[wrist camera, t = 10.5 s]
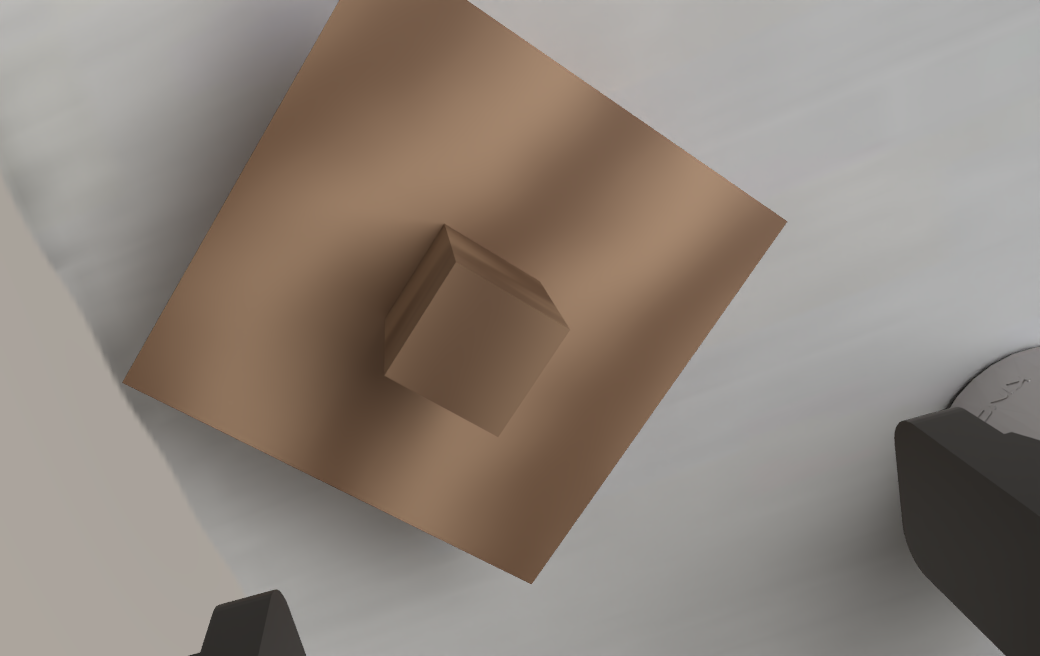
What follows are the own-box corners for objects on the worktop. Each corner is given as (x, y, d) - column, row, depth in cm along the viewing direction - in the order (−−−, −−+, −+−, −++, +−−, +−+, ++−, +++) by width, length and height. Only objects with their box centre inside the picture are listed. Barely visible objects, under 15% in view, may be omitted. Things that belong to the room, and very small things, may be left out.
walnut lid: (777, 217, 30) (865, 257, 24) (528, 571, 32) (556, 679, 27) (375, -61, 26) (372, -87, 20) (129, 373, 28) (67, 453, 23)
